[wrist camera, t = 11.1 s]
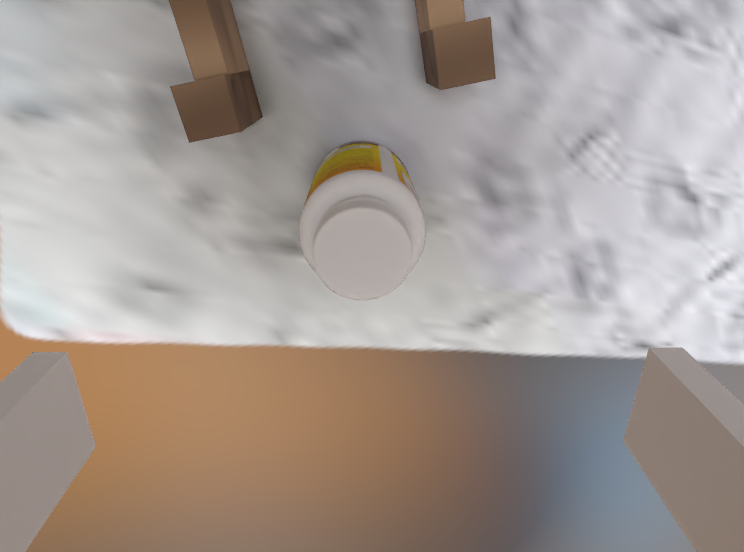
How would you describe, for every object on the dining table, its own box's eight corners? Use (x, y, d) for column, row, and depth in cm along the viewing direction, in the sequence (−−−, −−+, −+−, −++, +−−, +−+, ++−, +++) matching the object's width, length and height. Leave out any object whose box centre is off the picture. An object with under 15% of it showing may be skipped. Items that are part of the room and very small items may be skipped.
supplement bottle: (296, 202, 29) (264, 276, 19) (346, 119, 27) (337, 156, 18) (376, 250, 30) (382, 340, 21) (429, 174, 28) (462, 235, 19)
